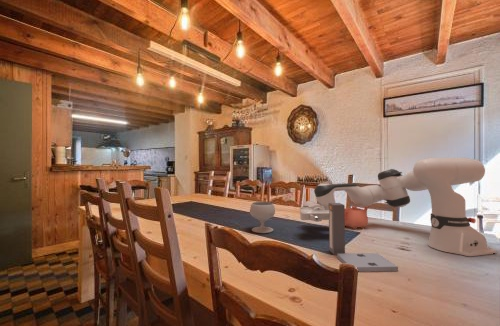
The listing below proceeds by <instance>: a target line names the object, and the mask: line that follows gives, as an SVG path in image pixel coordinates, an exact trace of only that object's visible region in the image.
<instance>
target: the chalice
mask: <svg viewBox="0 0 500 326" xmlns="http://www.w3.org/2000/svg"><path fill="white" fill-rule="evenodd" d="M249 213H250V216H251V217H253V218H254V219H256V220H258V221H259V222H260V226H255V227H253V228H251V232H253V233H258V234H267V233H272V232H274V228H273V227H270V226H265V222H266V221H267V220H270V219H271V218H273V217H274V216H275V214H276V209H275V205H274V203H273V202H271V201H270V202H269V201H255V202H252V203H251V205H250V208H249Z"/></svg>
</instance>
